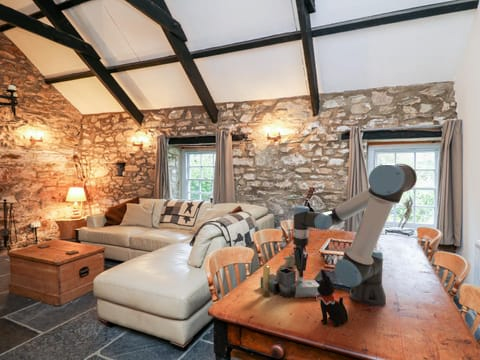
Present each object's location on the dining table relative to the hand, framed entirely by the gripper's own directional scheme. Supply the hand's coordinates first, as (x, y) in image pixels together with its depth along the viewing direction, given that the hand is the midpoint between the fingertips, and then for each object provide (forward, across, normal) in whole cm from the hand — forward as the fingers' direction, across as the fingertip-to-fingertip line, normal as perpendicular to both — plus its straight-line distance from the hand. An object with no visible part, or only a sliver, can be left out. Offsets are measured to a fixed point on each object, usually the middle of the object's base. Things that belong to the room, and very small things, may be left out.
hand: (299, 282), depth 145 cm
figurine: (+2, +34, -1) cm, 34 cm away
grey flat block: (+1, +9, -1) cm, 9 cm away
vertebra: (+2, -26, +6) cm, 26 cm away
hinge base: (+2, +3, -13) cm, 13 cm away
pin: (+2, +7, -20) cm, 21 cm away
